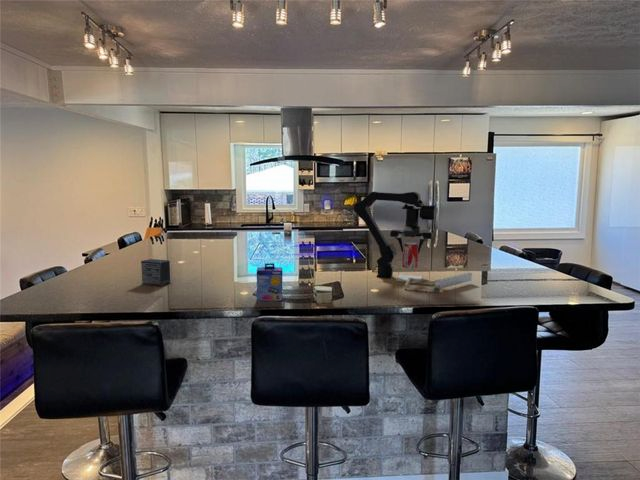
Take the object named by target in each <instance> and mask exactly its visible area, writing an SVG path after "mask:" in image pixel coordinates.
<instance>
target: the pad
mask: <svg viewBox="0 0 640 480" xmlns="http://www.w3.org/2000/svg"><path fill="white" fill-rule="evenodd" d="M408 278H415V279H424V278H423V276H421V275H409V274H398V276H397V277H396V278H395V281H397V282H405V281H407V280H408Z"/></svg>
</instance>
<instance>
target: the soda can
mask: <svg viewBox="0 0 640 480" xmlns="http://www.w3.org/2000/svg"><path fill="white" fill-rule="evenodd" d="M418 248H419V245H418V243H417V242H414V241H411V242H410V241H406V242H404V243H403V252H402V260H401V261H402V267H403V268H404V269H405V270H415V269H417V268H418V263H419V253H418Z"/></svg>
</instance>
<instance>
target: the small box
mask: <svg viewBox="0 0 640 480" xmlns="http://www.w3.org/2000/svg"><path fill="white" fill-rule="evenodd" d="M170 262H171V261H170V260H168V259H157V258H155V259H154V258H148V259H145V260H140V263H141V264H140V265H141V284H142V285H146V286H154V287H155V286H156V287H163V286H166V285H169V284H171V269H170V268H171V267H170V266H171V265H170Z"/></svg>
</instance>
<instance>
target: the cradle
mask: <svg viewBox="0 0 640 480" xmlns="http://www.w3.org/2000/svg"><path fill="white" fill-rule="evenodd" d="M415 283H418V284H415ZM426 284H429V286H427V285H426ZM424 285H425V286H424ZM403 288H404V289H407V290H406V291H415V290H417V292H425V291H427V292H426V293H435V294H441V289H435V279H424V278H422V279H415V278H408V280H407V281H406V282H405V283H404V287H403Z"/></svg>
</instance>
